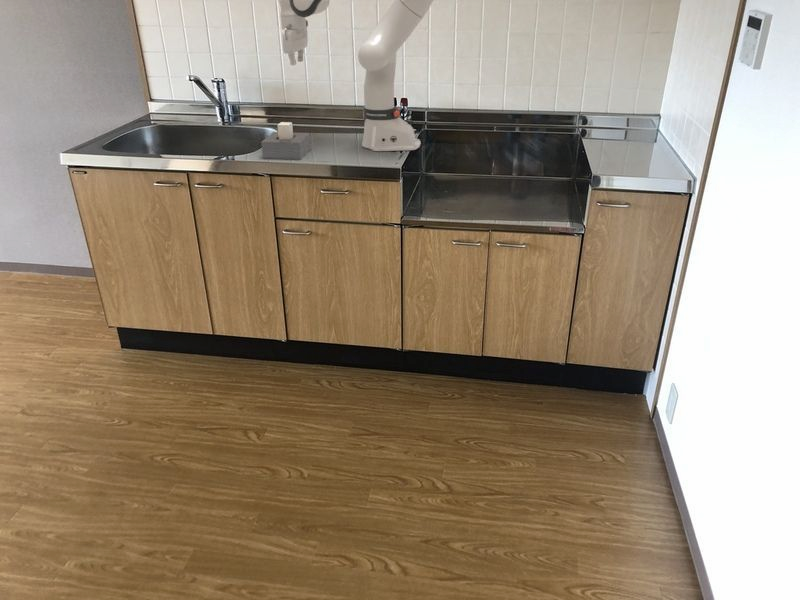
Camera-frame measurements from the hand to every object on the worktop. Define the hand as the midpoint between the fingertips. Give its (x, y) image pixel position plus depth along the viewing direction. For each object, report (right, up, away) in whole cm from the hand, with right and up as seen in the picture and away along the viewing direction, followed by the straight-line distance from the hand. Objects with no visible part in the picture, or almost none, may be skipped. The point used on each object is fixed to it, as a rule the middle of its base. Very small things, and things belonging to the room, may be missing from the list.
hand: (297, 63), depth 252 cm
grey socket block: (-3, -35, -6) cm, 36 cm away
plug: (-3, -35, -6) cm, 36 cm away
